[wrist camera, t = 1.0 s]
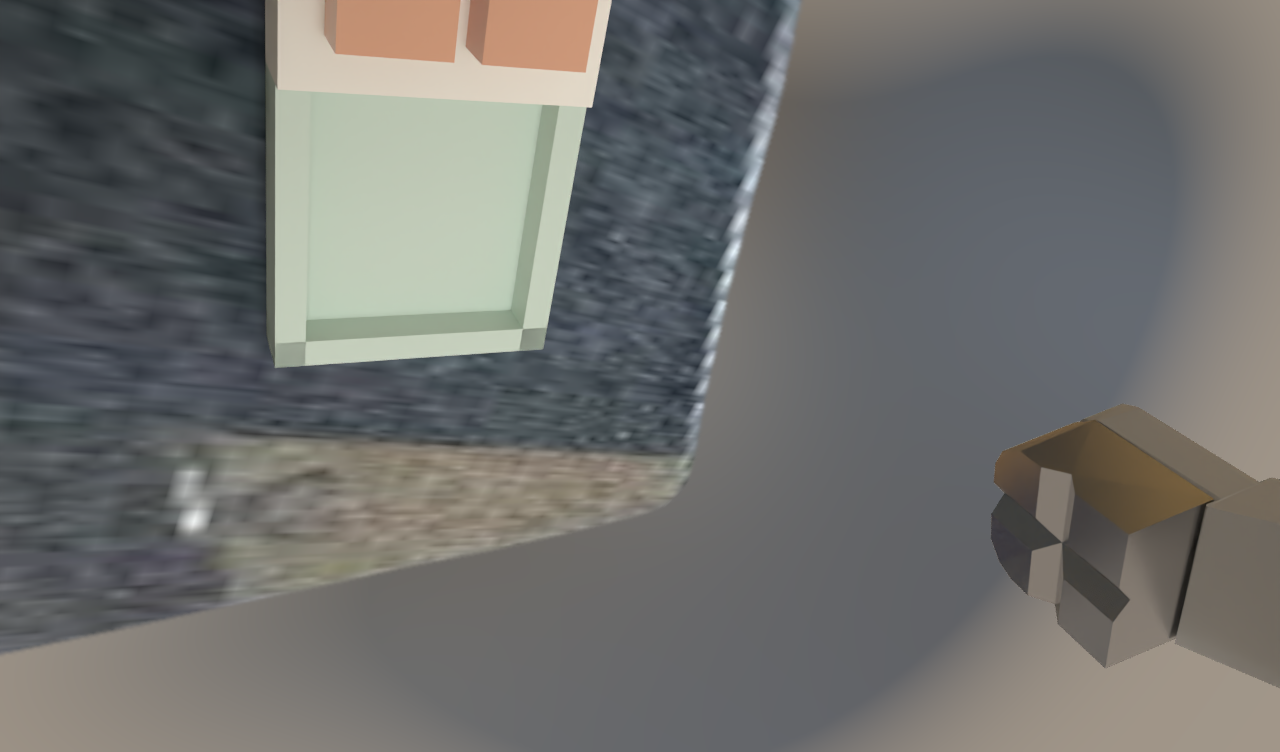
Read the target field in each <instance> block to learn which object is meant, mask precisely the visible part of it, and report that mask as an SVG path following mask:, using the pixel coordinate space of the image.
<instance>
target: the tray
mask: <svg viewBox="0 0 1280 752" xmlns="http://www.w3.org/2000/svg"><path fill="white" fill-rule="evenodd" d="M265 95H266V315H267V339H268V343H269V347H270V350H271V354H272V358H273V362H274V366H275V368H279V367H293V366H307V365H322V364H336V363H350V362H365V361H379V360H393V359H408V358H422V357H437V356H451V355H465V354H480V353H494V352H508V351H523V350H537V349H543V346H544V341H545V335H546V330H547V324H548V319H549V313H550V307H551V302H552V296H553V291H554V285H555V280H556V274H557V269H558V263H559V257H560V252H561V246H562V241H563V235H564V230H565V224H566V219H567V213H568V207H569V202H570V196H571V191H572V185H573V180H574V174H575V169H576V163H577V157H578V152H579V146H580V141H581V135H582V130H583V124H584V119H585V113H586V107H574V106H557V105H539V104H522V103H504V102H487V101H469V100H452V99H434V98H416V97H399V96H381V95H364V94H346V93H329V92H311V91H294V90H277V87H276V85H275V83H274V80H273V78H272V75H271V73H270V71H269V68H268V66H267V64H266V61H265Z"/></svg>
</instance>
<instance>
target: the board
mask: <svg viewBox="0 0 1280 752" xmlns="http://www.w3.org/2000/svg"><path fill="white" fill-rule="evenodd" d="M611 1H612V0H598V5H597V11H596V16H595V22H594V28H593V33H592V39H591V45H590V50H589V56H588V62H587V67H586V73H583V72H570V71H556V70H543V69H530V68H516V67H503V66H490V65H482V64H481V63H480V62H479V61H478V60H477V59H476V58H475V57H474V56H473V54H472V53H471V52H470V51H469V50H468V49H467V48H466V37H467V28H468V19H469V9H470V0H461V1H460V11H459V21H458V31H457V41H456V51H455V61H454V63H450V62H437V61H423V60H410V59H397V58H383V57H370V56H357V55H344V54H335V53H334V51H333V49H332V47H331V46H330V44H329V42H328V41H327V39H326V37H325V36H324V19H325V0H265V61H266V64H267V66H268V68H269V71H270V73H271V75H272V78H273V80H274V83H275V85H276V87H277V90H294V91H311V92H329V93H346V94H364V95H381V96H399V97H416V98H434V99H452V100H469V101H487V102H504V103H522V104H539V105H557V106H574V107H592V105H593V99H594V94H595V88H596V83H597V77H598V72H599V66H600V61H601V56H602V50H603V45H604V39H605V34H606V28H607V23H608V17H609V12H610V6H611Z"/></svg>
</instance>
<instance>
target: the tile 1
mask: <svg viewBox="0 0 1280 752" xmlns="http://www.w3.org/2000/svg"><path fill="white" fill-rule="evenodd" d="M460 1H461V0H325V19H324V36H325V37H326V39H327V41H328V42H329V44H330V46H331V47H332V49H333V51H334V53H335V54H344V55H357V56H370V57H383V58H397V59H410V60H423V61H437V62H450V63H454V61H455V51H456V41H457V31H458V21H459V11H460Z"/></svg>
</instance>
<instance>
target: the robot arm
mask: <svg viewBox="0 0 1280 752" xmlns="http://www.w3.org/2000/svg"><path fill="white" fill-rule="evenodd" d="M994 483H995V484H996V485H997V486H998V487H999V488H1000V489H1001V490H1002V491H1003V492H1004V495H1003V497H1002V498H1001V500H1000V501H999V503H998V504H997V506H996V508H995V509H994V511H993V513H992V514H991V540H992V543H993V545H994V548H995V551H996V554H997V557H998V559H999V562H1000V563H1001V565H1002V566H1003V568H1004V569H1005V571H1006V572H1007V574H1008V575H1009V577H1010V578H1011V579H1012V580H1013V581H1014V582H1015V583H1016V584H1017V585H1018V586H1019V587H1020V588H1021V589H1022V590H1023V591H1024V592H1025V593H1026V594H1027V595H1028V596H1031V597H1034V598H1038V599H1041V600H1044V601H1047V602H1050V603H1053V604H1055V608H1056V615H1057V622H1058V625H1059V626H1061V627H1062V628H1063V629H1064V630H1065V631H1066V632H1067V633H1068V634H1069V635H1070V636H1071V637H1072V638H1073V639H1074V640H1075V641H1077V642H1078V643H1079V644H1080V645H1081V646H1082V647H1083V648H1084V649H1085V650H1086V651H1087V652H1088V653H1089V654H1090V655H1092V656H1093V657H1094V658H1095V659H1096V660H1097V661H1098V662H1099V663H1100V664H1101V665H1102V666H1103V667H1104V668H1108V667H1110V666H1112V665H1115V664H1117V663H1119V662H1122V661H1124V660H1126V659H1129V658H1131V657H1133V656H1136V655H1138V654H1140V653H1143V652H1145V651H1148V650H1150V649H1152V648H1155V647H1157V646H1159V645H1162V644H1164V643H1166V642H1169V641H1171V640H1173V639H1176V640H1175V644H1177V645H1179V646H1182V647H1184V648H1187V649H1189V650H1191V651H1193V652H1196V653H1198V654H1201V655H1203V656H1205V657H1208V658H1210V659H1212V660H1215V661H1217V662H1220V663H1222V664H1224V665H1227V666H1229V667H1231V668H1234V669H1236V670H1238V671H1241V672H1243V673H1246V674H1248V675H1250V676H1253V677H1255V678H1257V679H1260V680H1262V681H1264V682H1267V683H1269V684H1272V685H1274V686H1276V687H1278V688H1280V479H1275V478H1269V479H1267V480H1264V481H1261V482H1258V481H1256V480H1255V479H1253V478H1252V477H1250V476H1248V475H1247V474H1245V473H1244V472H1242V471H1240V470H1239V469H1237V468H1236V467H1234V466H1232V465H1231V464H1229V463H1227V462H1226V461H1224V460H1223V459H1221V458H1219V457H1218V456H1216V455H1215V454H1213V453H1211V452H1210V451H1208V450H1207V449H1205V448H1203V447H1202V446H1200V445H1198V444H1197V443H1195V442H1194V441H1192V440H1190V439H1189V438H1187V437H1186V436H1184V435H1182V434H1181V433H1179V432H1178V431H1176V430H1174V429H1173V428H1171V427H1170V426H1168V425H1166V424H1165V423H1163V422H1162V421H1160V420H1158V419H1157V418H1155V417H1153V416H1152V415H1150V414H1149V413H1147V412H1145V411H1144V410H1142V409H1140V408H1139V407H1136V406H1131V405H1126V404H1120V405H1118V406H1115V407H1112V408H1110V409H1107V410H1105V411H1102V412H1100V413H1097V414H1095V415H1092V416H1090V417H1087V418H1085V419H1083V420H1081V421H1080V422H1074V423H1072V424H1069V425H1067V426H1064V427H1062V428H1059V429H1057V430H1054V431H1052V432H1050V433H1047V434H1044V435H1042V436H1039V437H1037V438H1034V439H1032V440H1029V441H1027V442H1025V443H1022V444H1019V445H1017V446H1014V447H1012V448H1009V449H1007V450H1004V451H1002V453H1001V455H1000V457H999V458H998V460H997V461H996V463H995V473H994Z"/></svg>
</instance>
